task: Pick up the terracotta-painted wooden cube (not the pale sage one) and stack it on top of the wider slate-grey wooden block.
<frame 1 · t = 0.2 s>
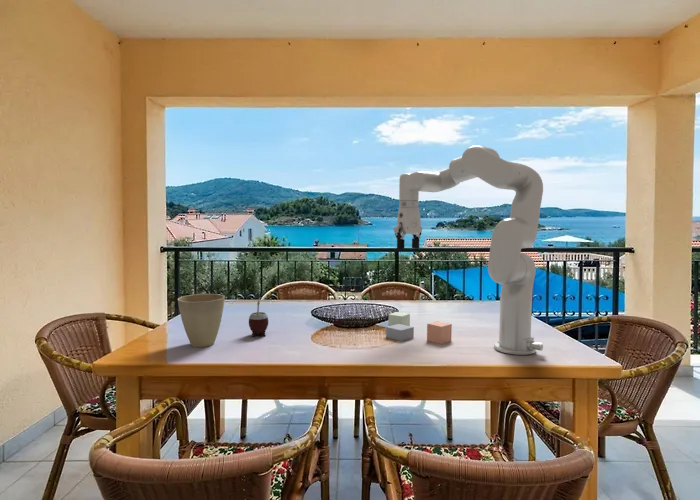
hand: (408, 248, 169), 31 cm above the table, tool pointing down, fingers open, 9 cm apart
sage cube: (399, 329, 166), on the table
slate-grey block: (399, 338, 154), on the table
plant pot: (202, 344, 144), on the table
terracotta cube: (439, 340, 150), on the table
mate gourd: (259, 336, 156), on the table
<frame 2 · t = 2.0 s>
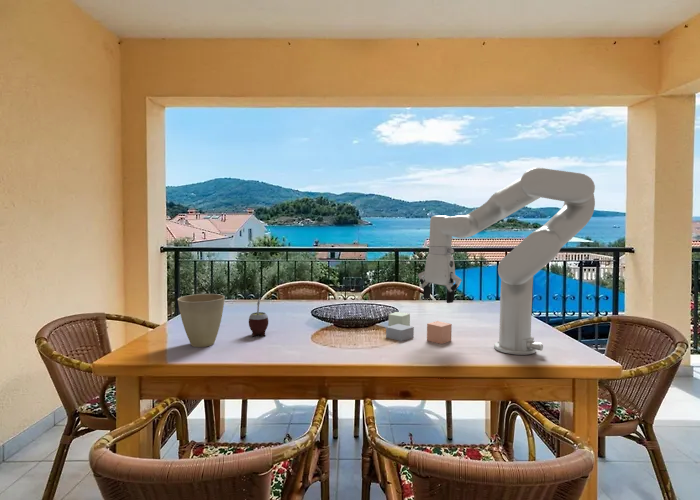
hand: (438, 300, 149), 14 cm above the table, tool pointing down, fingers open, 9 cm apart
nothing on the table moved.
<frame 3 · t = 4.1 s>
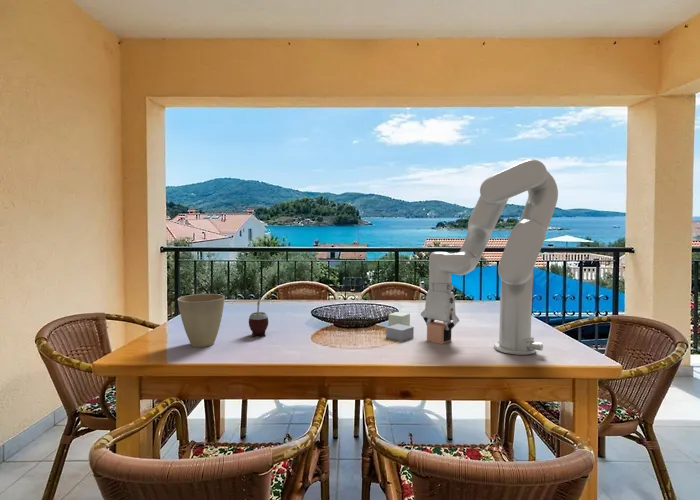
hand: (439, 338, 150), 1 cm above the table, tool pointing down, fingers closed on terracotta cube, 6 cm apart
terracotta cube: (439, 340, 150), on the table, touching gripper
everything else where it was.
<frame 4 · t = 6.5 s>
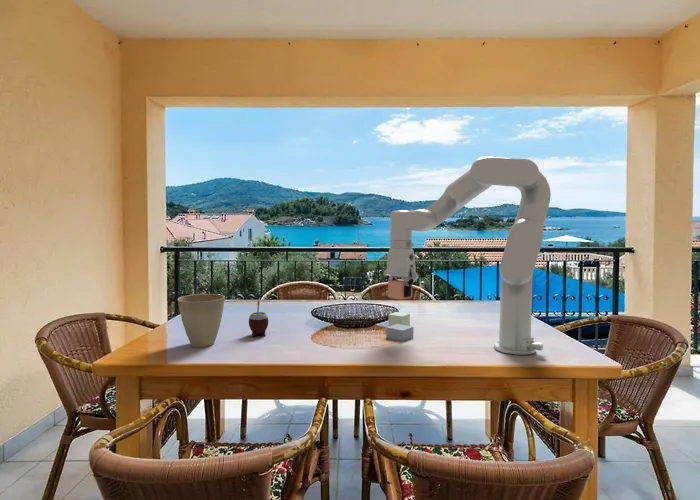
hand: (400, 295, 153), 15 cm above the table, tool pointing down, fingers closed on terracotta cube, 6 cm apart
terracotta cube: (400, 297, 153), point 14 cm above the table, touching gripper
everything else where it was.
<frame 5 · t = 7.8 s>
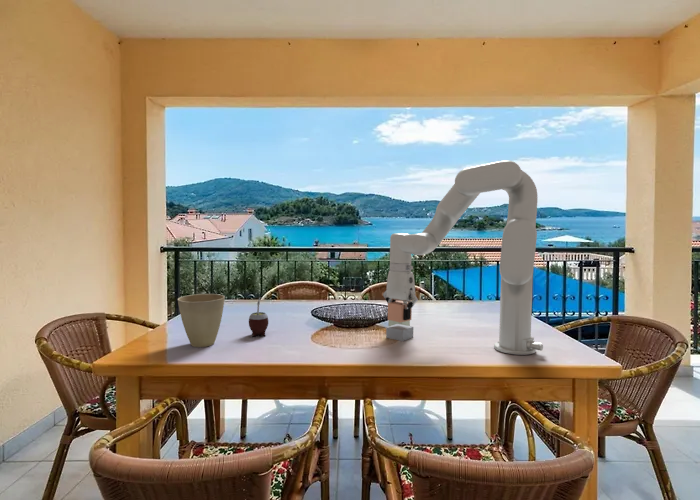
hand: (399, 317, 153), 7 cm above the table, tool pointing down, fingers closed on terracotta cube, 6 cm apart
terracotta cube: (399, 319, 153), point 6 cm above the table, touching gripper
everything else where it was.
when the fingers open (6 cm above the table, at t = 8.9 s): terracotta cube drops 1 cm, resting on slate-grey block.
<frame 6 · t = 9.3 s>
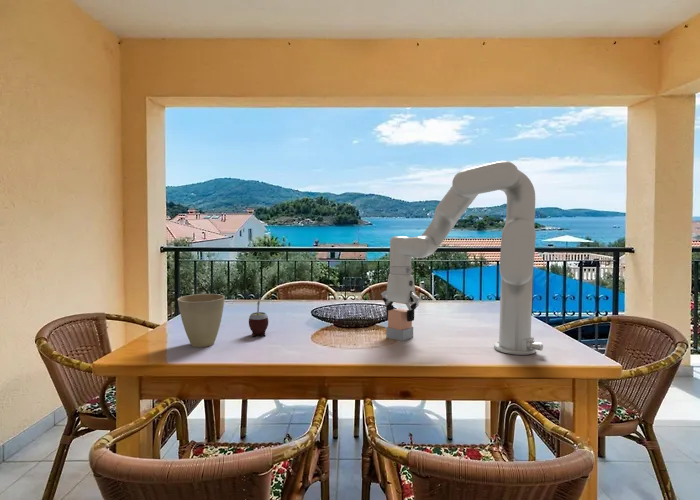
hand: (399, 318, 153), 7 cm above the table, tool pointing down, fingers open, 9 cm apart
slate-grey block: (399, 338, 154), on the table, touching terracotta cube
terracotta cube: (399, 327, 153), point 4 cm above the table, touching slate-grey block
everything else where it was.
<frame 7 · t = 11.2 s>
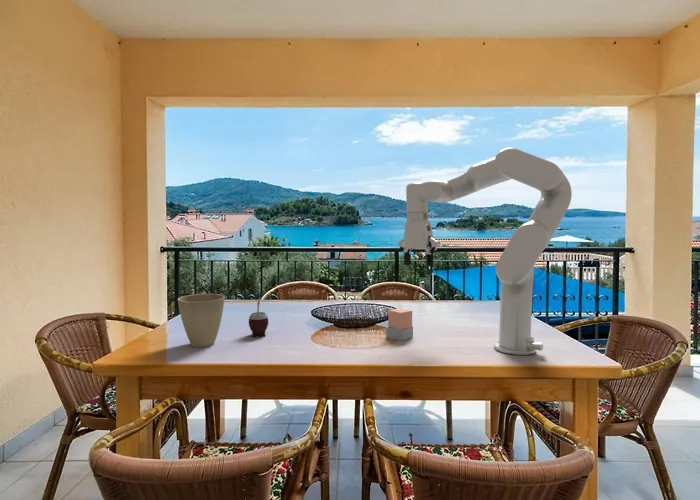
hand: (418, 265, 154), 26 cm above the table, tool pointing down, fingers open, 9 cm apart
slate-grey block: (399, 338, 154), on the table
terracotta cube: (400, 327, 154), point 4 cm above the table
everything else where it was.
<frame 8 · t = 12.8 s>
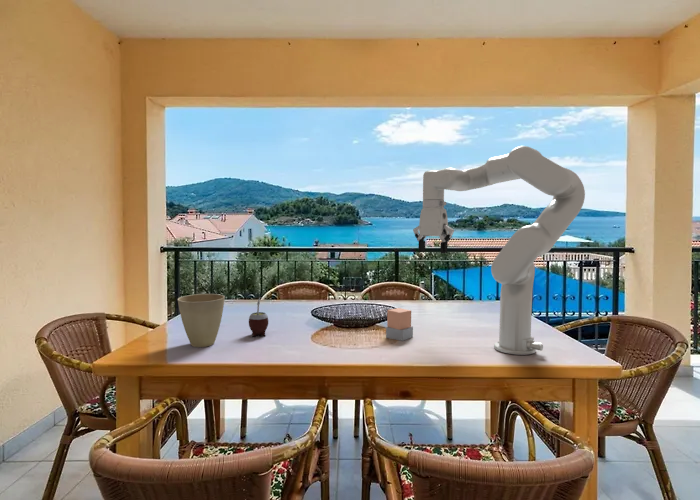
hand: (432, 252, 156), 30 cm above the table, tool pointing down, fingers open, 9 cm apart
nothing on the table moved.
at the end: terracotta cube 0.0 cm off-centre on the slate-grey block, point 4.0 cm above the slate-grey block's base; terracotta cube tilted 0°; sage cube moved 0.1 cm from its start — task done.
